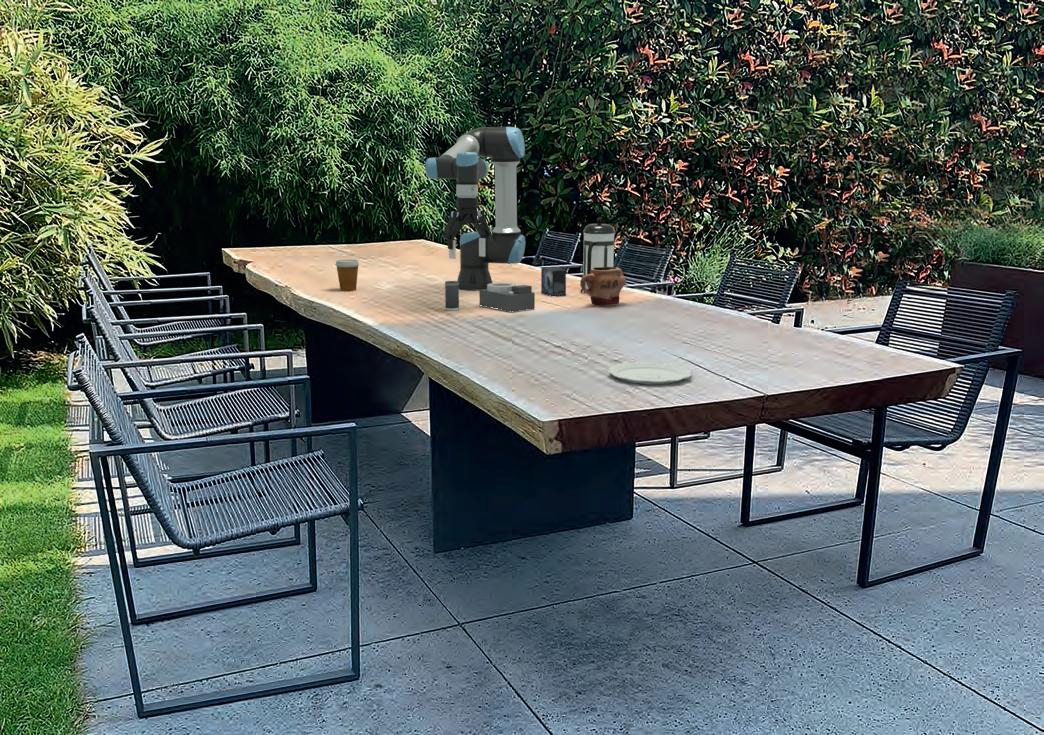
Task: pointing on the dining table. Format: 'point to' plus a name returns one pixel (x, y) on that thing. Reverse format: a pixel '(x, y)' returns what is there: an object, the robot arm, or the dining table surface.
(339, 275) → the disposable coffee cup
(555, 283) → the small box
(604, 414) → the dining table surface
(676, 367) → the plate
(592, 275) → the brown clay mug
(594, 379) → the dining table surface
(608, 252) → the coffee press
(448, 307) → the lens
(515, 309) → the camera body
